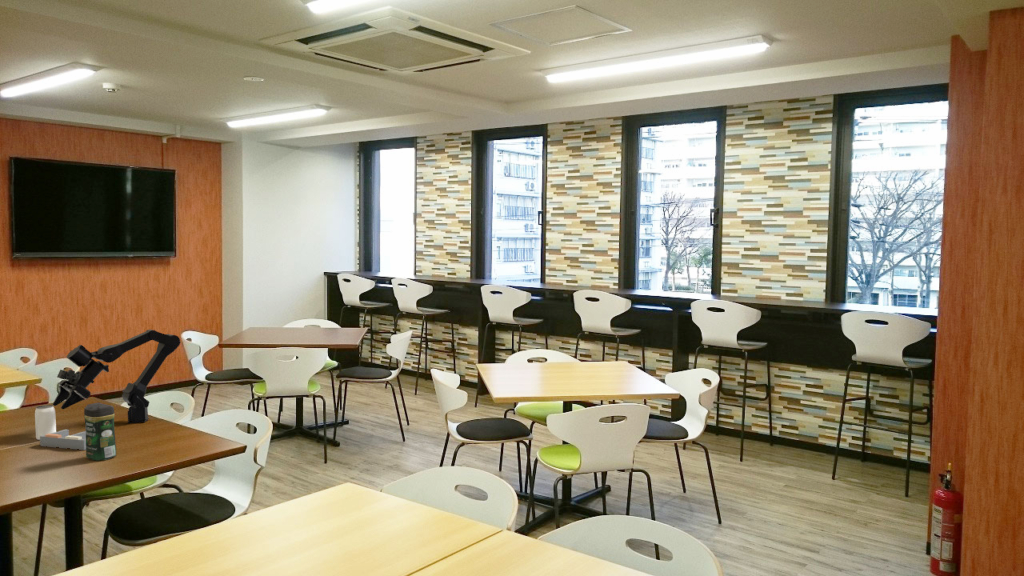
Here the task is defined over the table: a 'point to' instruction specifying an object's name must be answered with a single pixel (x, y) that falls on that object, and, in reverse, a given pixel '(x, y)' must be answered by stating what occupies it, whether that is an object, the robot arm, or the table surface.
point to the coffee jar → (100, 431)
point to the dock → (64, 440)
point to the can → (45, 420)
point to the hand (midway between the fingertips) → (57, 406)
